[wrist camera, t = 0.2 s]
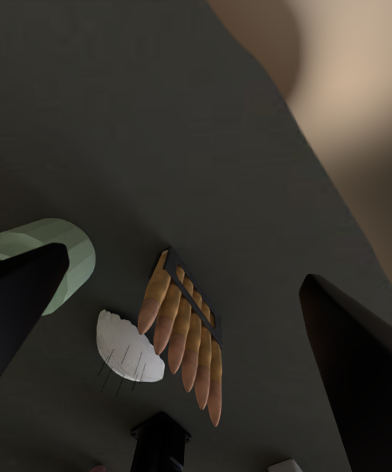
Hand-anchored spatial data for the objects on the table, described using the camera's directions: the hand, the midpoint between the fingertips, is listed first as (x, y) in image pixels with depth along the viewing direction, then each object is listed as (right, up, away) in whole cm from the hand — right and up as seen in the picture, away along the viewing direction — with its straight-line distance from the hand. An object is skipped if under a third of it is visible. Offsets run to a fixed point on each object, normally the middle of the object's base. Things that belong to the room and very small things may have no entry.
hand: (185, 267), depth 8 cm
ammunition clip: (0, -5, +18) cm, 18 cm away
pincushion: (-7, -12, +20) cm, 25 cm away
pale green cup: (-15, -1, +17) cm, 22 cm away
